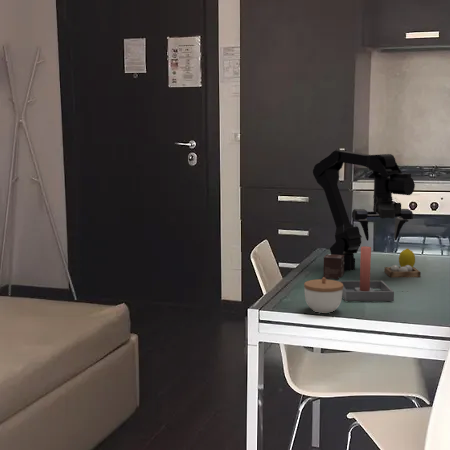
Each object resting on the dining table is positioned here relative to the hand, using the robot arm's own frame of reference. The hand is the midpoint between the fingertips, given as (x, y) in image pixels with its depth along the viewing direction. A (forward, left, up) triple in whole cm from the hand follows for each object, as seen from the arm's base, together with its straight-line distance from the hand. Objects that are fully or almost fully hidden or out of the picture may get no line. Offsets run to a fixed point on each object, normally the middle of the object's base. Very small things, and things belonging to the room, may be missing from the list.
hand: (381, 240), depth 234 cm
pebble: (+10, +4, -12) cm, 16 cm away
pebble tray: (+8, +3, -13) cm, 16 cm away
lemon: (+12, +12, -13) cm, 22 cm away
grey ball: (+8, +2, -12) cm, 15 cm away
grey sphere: (+6, +4, -12) cm, 14 cm away
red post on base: (-10, -22, -12) cm, 27 cm away
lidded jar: (-25, -38, -13) cm, 47 cm away
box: (-15, +3, -13) cm, 20 cm away
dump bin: (-10, -22, -13) cm, 27 cm away
